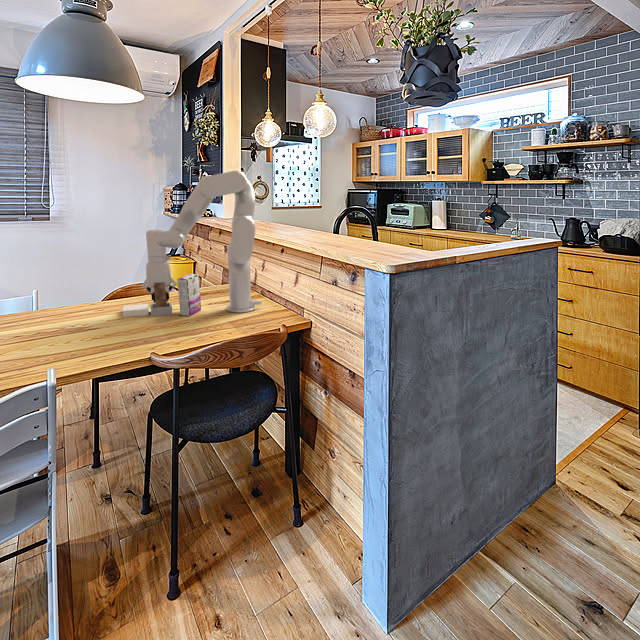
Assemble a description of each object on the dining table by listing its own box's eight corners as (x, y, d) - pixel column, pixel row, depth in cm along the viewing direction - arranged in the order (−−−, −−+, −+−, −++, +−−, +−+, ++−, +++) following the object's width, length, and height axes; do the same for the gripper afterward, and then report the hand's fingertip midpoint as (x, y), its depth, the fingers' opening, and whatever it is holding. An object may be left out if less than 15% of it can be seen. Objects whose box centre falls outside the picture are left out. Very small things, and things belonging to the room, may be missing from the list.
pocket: (171, 309, 209) (171, 302, 208) (172, 314, 201) (171, 307, 200) (151, 311, 206) (150, 303, 206) (151, 316, 199) (150, 308, 198)
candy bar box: (191, 309, 211) (189, 273, 206) (201, 310, 210) (199, 274, 205) (179, 315, 200) (176, 278, 196) (190, 316, 199) (187, 278, 195)
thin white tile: (148, 309, 209) (148, 304, 209) (148, 315, 200) (147, 309, 200) (124, 310, 206) (123, 305, 206) (123, 316, 197) (122, 311, 196)
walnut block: (166, 311, 207) (164, 280, 203) (167, 313, 203) (164, 282, 199) (156, 312, 205) (153, 280, 201) (156, 314, 201) (153, 282, 197)
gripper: (177, 257, 204) (180, 298, 209) (136, 258, 198) (140, 300, 203) (178, 260, 197) (181, 302, 202) (135, 261, 191) (139, 304, 196)
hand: (160, 301), depth 202 cm, fingers closed on walnut block, 4 cm apart
